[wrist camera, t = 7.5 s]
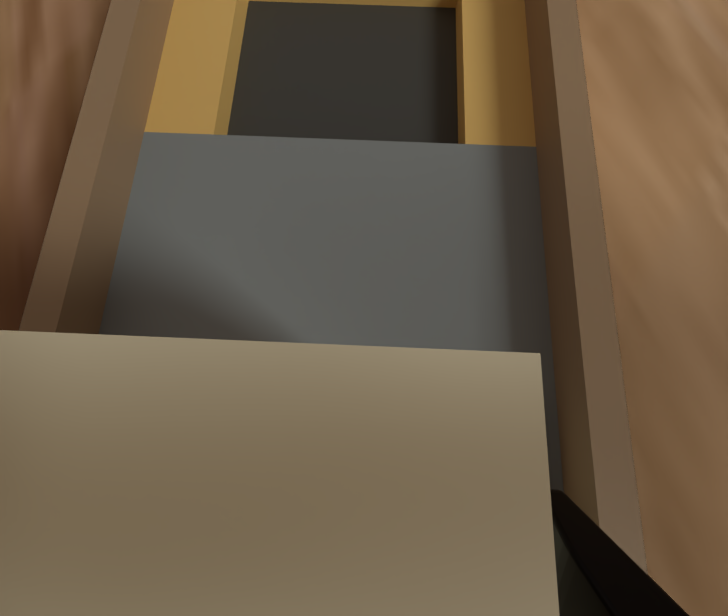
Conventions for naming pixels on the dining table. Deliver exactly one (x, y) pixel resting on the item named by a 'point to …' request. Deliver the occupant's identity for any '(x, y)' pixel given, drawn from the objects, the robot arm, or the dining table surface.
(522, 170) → the trough deck
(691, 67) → the dining table surface
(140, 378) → the maple block
